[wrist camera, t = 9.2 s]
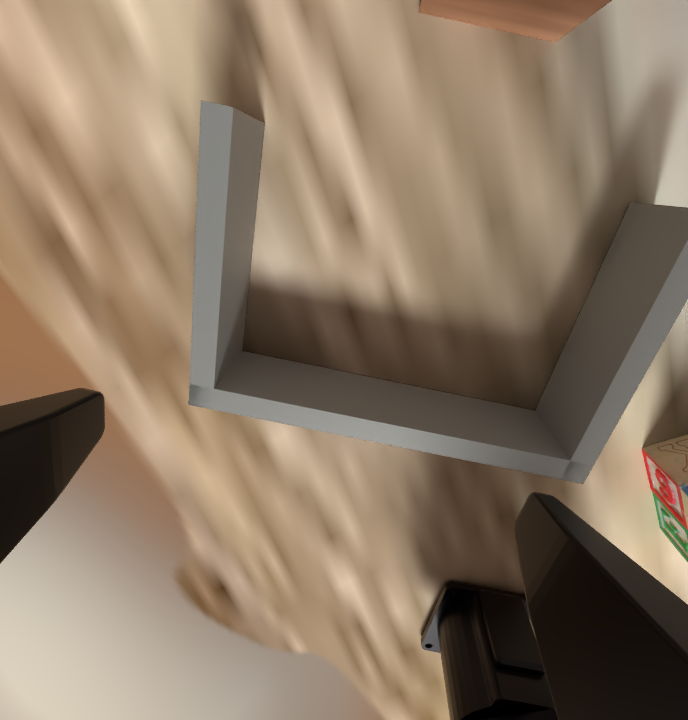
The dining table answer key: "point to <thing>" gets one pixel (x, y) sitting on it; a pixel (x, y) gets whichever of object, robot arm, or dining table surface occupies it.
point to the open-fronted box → (411, 403)
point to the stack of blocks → (670, 488)
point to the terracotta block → (517, 14)
